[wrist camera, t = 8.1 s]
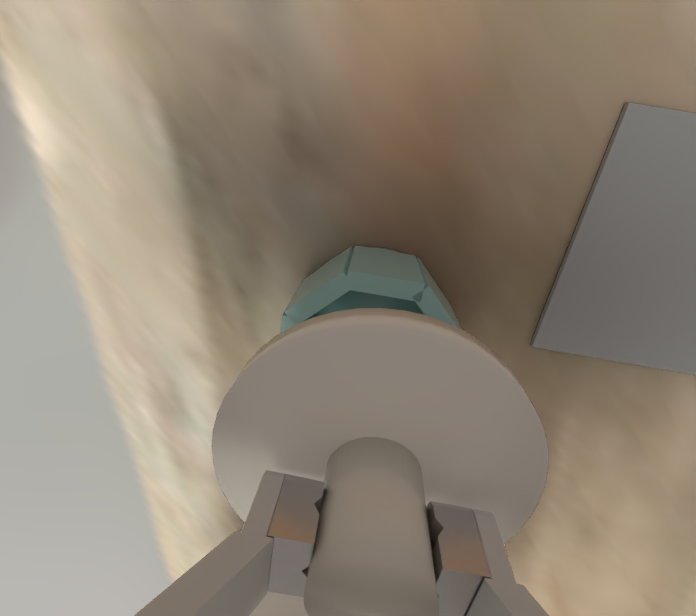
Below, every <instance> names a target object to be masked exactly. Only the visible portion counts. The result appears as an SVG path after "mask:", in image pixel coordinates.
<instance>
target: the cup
mask: <svg viewBox="0 0 696 616" xmlns="http://www.w3.org/2000/svg"><path fill="white" fill-rule="evenodd" d="M357 308H386V309H396V310H405V311H409V312H414V313H418V314H423V315H427V316H430V317H433V318H436V319H438V320H441V321H444V322H447V323H449V324H451V325H453V326H455V327H457V328H459V329H461V326H460V324H459V322H458V320H457V318H456V316H455V314H454V312H453V310H452V307H451V305H450V303H449V302H448V301H447V299H446V298H445V296H444V295H443V293H442V292H441V290H440V289H439V287H438V286H437V284H436V283H435V281H434V279H433V278H432V276H431V275H430V274H429V272H428V271H427V269H426V268H425V266H424V265H423V263H422V262H421V260H420V259H419V258H417V259H416V257H415V255H409V254H404V253H400V252H398V251H395V250H391V249H387V248H379V247H362V246H357V245H355V247H354V249H353V248H352V246H350V247H349V248H348V249H346V250H345V251H343V252H342V253H341V254H339V255H337V256H335V257H333V258H332V259H330V260H329V261H327V262H326V263H325V264H324V265H322V266H321V267H320V268H319V269H318V270H317V271H315V272H314V273H312V274H311V275H309V276H308V277H307V278H305V279H304V281H303V282H302V284H301V285H300V287H299V289H298V290H297V292H296V294H295V295H294V297H293V298H292V300H291V302H290V303H289V305H288V306H287V308H286V310H285V311H284V313H283V315H282V323H281V333H282V332H283V331H285V330H287V329H289V328H290V327H292V326H294V325H296V324H299V323H301V322H304V321H306V320H308V319H311V318H313V317H317V316H321V315H324V314H328V313H332V312H336V311H343V310H350V309H357ZM461 330H462V329H461Z"/></svg>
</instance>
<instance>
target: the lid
mask: <svg viewBox="0 0 696 616" xmlns="http://www.w3.org/2000/svg"><path fill="white" fill-rule="evenodd" d="M212 455H213V464H214V468H215V471H216V475H217V479H218V481H219V484H220V486H221V488H222V491H223V493H224V495H225V496H226V498H227V500H228V501H229V503H230V505H231V506H232V508H233V509H234V510H235V512H236V513H237V514H238V515H239V517H240V518H241V519H242V520H243V521H244V522H246V519H247V516H248V514H249V511H250V508H251V506H252V503H253V500H254V498H255V495H256V492H257V489H258V487H259V484H260V481H261V479H262V476H263V474H264V473H265V471H266V470H269V471H274V472H279V473H284V474H289V475H294V476H299V477H303V478H308V479H313V480H317V481H322V482H325V485H324V491H323V497H322V503H321V508H320V513H319V520H318V526H317V532H316V537H315V543H314V549H313V554H312V560H311V563H310V566H309V569H308V575H307V581H306V586H305V592H304V607H305V609H306V612H307V614H308V615H309V616H439V603H438V595H437V588H436V580H435V572H434V564H433V556H432V548H431V540H430V533H429V525H428V517H427V509H426V507H427V504H428V503H429V502H430V501H433V502H438V503H444V504H450V505H456V506H462V507H467V508H470V509H477V510H482V511H487V512H492V514H493V515H494V516H495V519H496V522H497V525H498V528H499V531H500V534H501V537H502V540H503V544H505V543H506V542H507V541H508V540H510V539H511V538H512V537H513V536H514V535H515V534H516V533H517V532H518V531H519V530H520V529H521V528H522V526H523V525H524V524H525V523H526V522H527V520H528V519H529V518H530V516H531V515H532V513H533V511H534V510H535V508H536V506H537V505H538V503H539V500H540V498H541V495H542V493H543V490H544V488H545V483H546V478H547V473H548V447H547V441H546V435H545V432H544V429H543V426H542V424H541V421H540V418H539V416H538V414H537V412H536V410H535V409H534V407H533V405H532V403H531V402H530V400H529V398H528V396H527V395H526V393H525V391H524V390H523V388H522V387H521V385H520V383H519V382H518V380H517V378H516V377H515V375H514V374H513V373H512V371H511V370H510V369H509V368H508V366H507V365H506V364H505V363H504V361H503V360H502V359H501V358H500V357H499V356H498V355H496V354H495V353H494V352H493V351H492V350H491V349H490V348H489V347H488V346H486V345H485V344H484V343H482V342H481V341H479V340H478V339H476V338H475V337H474V336H472V335H471V334H469V333H467V332H465V331H463V330H461V329H459V328H457V327H455V326H453V325H451V324H449V323H447V322H444V321H441V320H438V319H436V318H433V317H430V316H427V315H423V314H418V313H414V312H409V311H405V310H396V309H386V308H357V309H350V310H343V311H336V312H332V313H328V314H324V315H321V316H317V317H313V318H311V319H308V320H306V321H304V322H301V323H299V324H296V325H294V326H292V327H290V328H289V329H287V330H285V331H283V332H282V333H280V334H278V335H277V336H275V337H274V338H273V339H271V340H270V341H269V342H268V343H266V344H265V345H264V346H263V347H261V348H260V349H259V350H258V351H257V352H256V354H255V355H254V356H253V357H252V358H251V359H250V360H249V361H248V362H247V364H246V365H245V367H244V368H243V370H242V371H241V373H240V374H239V376H238V377H237V379H236V380H235V382H234V384H233V385H232V387H231V388H230V390H229V391H228V393H227V394H226V396H225V398H224V400H223V402H222V404H221V406H220V409H219V411H218V413H217V417H216V420H215V424H214V428H213V437H212Z"/></svg>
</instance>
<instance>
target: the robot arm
mask: <svg viewBox="0 0 696 616" xmlns="http://www.w3.org/2000/svg"><path fill="white" fill-rule="evenodd" d="M324 485H325V482H322V481H317V480H313V479H308V478H303V477H299V476H294V475H289V474H284V473H279V472H274V471H269V470H266V471H265V473H264V474H263V476H262V479H261V481H260V484H259V487H258V489H257V492H256V495H255V498H254V500H253V503H252V506H251V508H250V511H249V514H248V516H247V519H246V522H245V525H244V527H243V530H242V532H241V531H235V532H233V533H232V534H231V535H230V536H229V537H227V538H226V539H225V540H224V541H223V542H221V543H220V544H219V545H218V546H217V547H215V548H214V549H213V550H212V551H211V552H210V553H208V554H207V555H206V556H205V557H204V558H202V559H201V560H200V561H199V562H198V563H196V564H195V565H194V566H193V567H192V568H190V569H189V570H188V571H187V572H186V573H184V574H183V575H182V576H181V577H180V578H178V579H177V580H176V581H175V582H174V583H173V584H171V585H170V586H169V587H168V588H167V589H165V590H164V591H163V592H162V593H161V594H159V595H158V596H157V597H156V598H155V599H154V600H152V601H151V602H150V603H149V604H147V605H146V606H145V607H144V608H143V609H141V610H140V611H139V612H138V613H137V614H136V615H135V616H249V615H250V614H251V613H252V612H253V611H254V609H255V608H256V607H257V606H258V605H259V603H260V602H261V601H262V600H263V598H264V597H265V596H266V595H267V592H274V593H280V594H286V595H293V596H299V597H304V592H305V586H306V581H307V575H308V569H309V566H310V563H311V560H312V554H313V549H314V543H315V537H316V532H317V526H318V520H319V513H320V508H321V503H322V497H323V491H324ZM426 509H427V517H428V525H429V533H430V540H431V548H432V556H433V564H434V572H435V580H436V588H437V595H438V603H439V616H549V615H548V614H547V613H546V612H545V611H544V609H543V608H542V607H541V606H540V605H539V603H538V602H537V601H536V600H535V599H534V597H533V596H532V595H531V594H530V593H529V592H528V590H527V589H526V588H525V587H524V586H523V585H520V584H516V581H515V578H514V575H513V571H512V568H511V565H510V562H509V559H508V556H507V553H506V550H505V547H504V544H503V540H502V537H501V534H500V531H499V528H498V525H497V522H496V519H495V516H494V515H493V514H492V512H487V511H482V510H477V509H470V508H467V507H462V506H456V505H450V504H444V503H438V502H433V501H430V502H429V503H428V504H427V507H426Z"/></svg>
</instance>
